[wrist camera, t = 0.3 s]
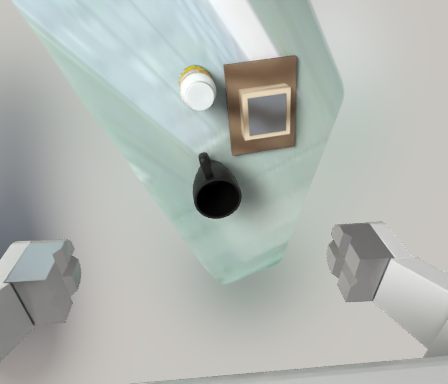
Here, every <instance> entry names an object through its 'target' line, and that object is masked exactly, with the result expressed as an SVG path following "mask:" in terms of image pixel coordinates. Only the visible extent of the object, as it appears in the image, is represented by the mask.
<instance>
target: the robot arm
mask: <svg viewBox="0 0 448 384" xmlns="http://www.w3.org/2000/svg"><path fill="white" fill-rule="evenodd" d="M331 235H332V237H333V239H334V240H333V241H332V242H331V243H330V244H329V245H328V249H327V261H328V265H329V268H330V270H331V272H332V274H333V275H335V276H336V277H338V278H339V281H338V284H337V285H338V287H339V289H340V291H341V293H342V295H343V297H344V299H345V301H346V302H361V301H373V303H374V304H375V305H377V306H378V307H379V308H380V309H381V310H382V311H384V312H385V313H386V314H387V315H388V316H390V317H391V318H392V319H393V320H394V321H395V322H397V323H398V324H399V325H400V326H401V327H403V328H404V329H405V330H406V331H407V332H408V333H410V334H411V335H412V336H413V337H414V338H416V339H417V340H418V341H419V342H420V343H422V344H423V345H424V346H425V347H426V348H427V349H428V350H427V352H426V353H425V355H424V357H423V358H416V359H404V360H394V361H382V362H370V363H360V364H349V365H336V366H325V367H314V368H303V369H291V370H281V371H269V372H258V373H246V374H235V375H224V376H213V377H201V378H190V379H179V380H167V381H156V382H146V383H133V384H448V273H447V272H445V271H443V270H441V269H439V268H437V267H436V266H434V265H432V264H430V263H428V262H426V261H424V260H422V259H421V258H419V257H412V256H411V254H410V253H409V252H408V251H407V249H406V248H405V247H404V246H403V244H401V242H400V241H399V240H398V238H397V237H396V236H395V235H394V233H393V232H392V231H391V230H390V228H389V227H388V226H387V225H386V224H385V223H384V222H382V221H380V222H367V223H355V224H339V225H335V226H334V227H333V229H332V233H331ZM73 251H74V247H73V245H72V242H71V241H70V240H68V239H67V240H39V241H37V240H36V241H17V242H14V243H13V244H11V245H10V247H9V248H8V250H7V251H6V252H5V254H4V255H3V257H2V258H1V260H0V362H1V361H2V360H3V359H4V358H5V357H6V356H7V355H8V354H9V353H10V352H11V351H12V350H13V349H14V348H15V347H16V346H17V345H18V344H19V343H20V342H21V341H22V340H23V339H24V338H25V336H26V335H28V334H29V333H30V332H31V331H32V329H34V326H38V325H48V324H58V323H65V322H66V320H67V317H68V314H69V312H70V309H71V306H72V304H73V302H72V300H71V297H70V296H71V295H73V294H74V293H75V292H76V291H77V290H78V287H79V284H80V279H81V268H80V263H79V260H78V259H77V258H75V257H74V256H72V254H73Z"/></svg>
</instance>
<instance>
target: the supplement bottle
mask: <svg viewBox="0 0 448 384" xmlns="http://www.w3.org/2000/svg"><path fill="white" fill-rule="evenodd" d="M179 87H180V94H181V98H182V100H183V101H184V103H185V104H186V105H187V106H189V107H190V108H192V109H194V110H197V111H203V110H206V109H208V108H209V107H210V106H211V105H212V103H213V101H214V99H215V97H216V86H215V83H214V81H213V80H212V78H211V76H210V74H209V72H208V71H207V70H206V69H205V68H203V67H201V66H199V65H190V66H188V67H186V68H185V69H184V70H183V71H182V72H181V74H180V77H179Z"/></svg>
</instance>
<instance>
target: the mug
mask: <svg viewBox="0 0 448 384" xmlns="http://www.w3.org/2000/svg"><path fill="white" fill-rule="evenodd" d="M199 161H200V165H201V166H200V168H199V169H198V172H197V174H196V177H195V180H194V184H193V198H194V204H195V207H196V209H197V210H198V211H199V212H200V213H201V214H202V215H204V216H206V217H208V218H213V219H219V218H224V217H226V216H229V215H230V214H232V213H233V212H234V211H235V210H237V208H238V207H239V205H240V202H241V197H242V196H241V191H240V188H239V185H238V183H237V181H236V179H235V177H234V176H233V174H232V173H231V172H230V171H229V170H228V169H227V168H226V167H225V166H223V165H222V164H221V163H219V162H217V161H210V159H209V156H208V154H207V153H205V152H204V153H201V154H199Z"/></svg>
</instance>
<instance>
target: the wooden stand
mask: <svg viewBox="0 0 448 384" xmlns="http://www.w3.org/2000/svg"><path fill="white" fill-rule="evenodd" d="M296 66H297V56H295V55H294V56H286V57H279V58H271V59H264V60H256V61H249V62H241V63H234V64H226V65H224V74H225V85H226V96H227V106H228V117H229V128H230V139H231V150H232V155H233V156H234V155H240V154H246V153H253V152H259V151H266V150H272V149H279V148H285V147H291V146H294V145H295V105H296Z"/></svg>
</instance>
